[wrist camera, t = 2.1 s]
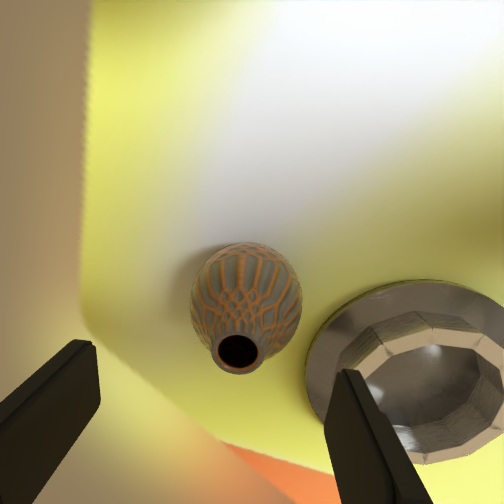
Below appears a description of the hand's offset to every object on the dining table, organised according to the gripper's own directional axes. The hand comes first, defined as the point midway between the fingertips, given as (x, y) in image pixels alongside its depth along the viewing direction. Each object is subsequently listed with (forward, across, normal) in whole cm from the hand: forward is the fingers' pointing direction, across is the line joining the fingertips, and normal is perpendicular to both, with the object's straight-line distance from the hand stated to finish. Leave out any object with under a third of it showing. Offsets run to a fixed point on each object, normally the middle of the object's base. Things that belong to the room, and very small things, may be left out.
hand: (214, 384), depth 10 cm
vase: (+10, -1, 0) cm, 11 cm away
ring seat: (+10, -15, +7) cm, 19 cm away
